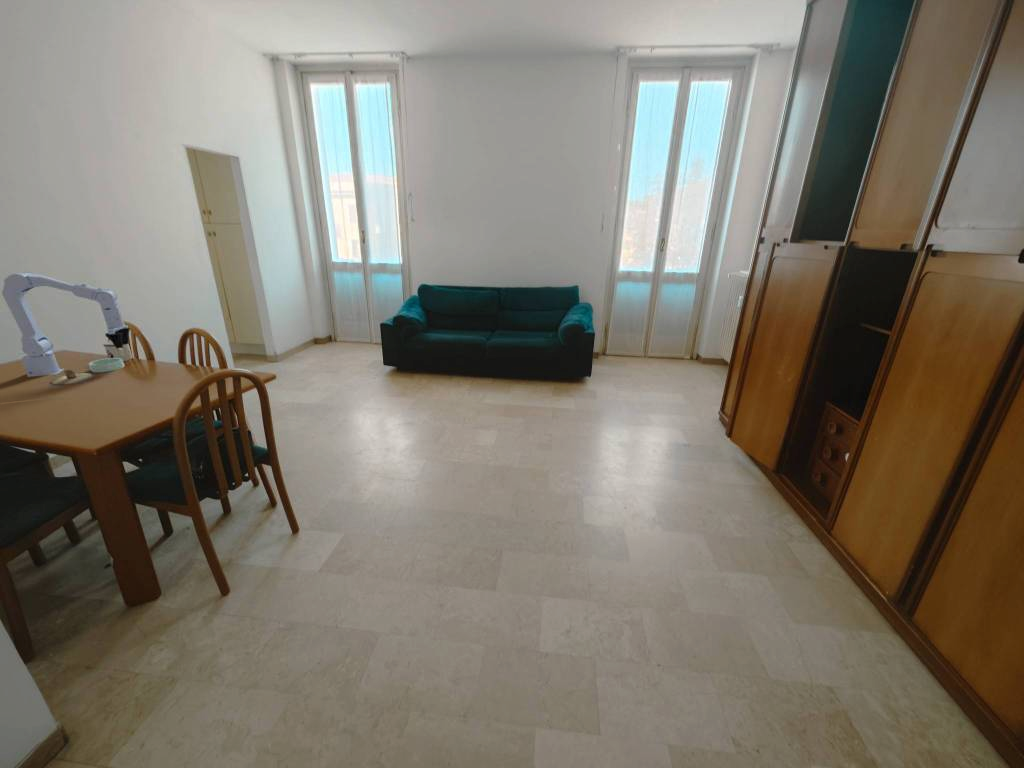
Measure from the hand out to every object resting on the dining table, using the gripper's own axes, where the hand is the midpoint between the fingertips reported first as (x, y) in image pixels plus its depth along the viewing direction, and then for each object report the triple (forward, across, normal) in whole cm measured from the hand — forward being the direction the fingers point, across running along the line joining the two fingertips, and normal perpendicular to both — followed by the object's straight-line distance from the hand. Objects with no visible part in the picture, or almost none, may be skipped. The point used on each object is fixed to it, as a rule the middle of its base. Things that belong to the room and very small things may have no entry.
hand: (122, 345), depth 188 cm
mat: (+10, -16, +14) cm, 24 cm away
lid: (+10, -16, +14) cm, 24 cm away
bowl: (+10, -3, +7) cm, 12 cm away
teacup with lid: (+10, +12, +6) cm, 17 cm away
